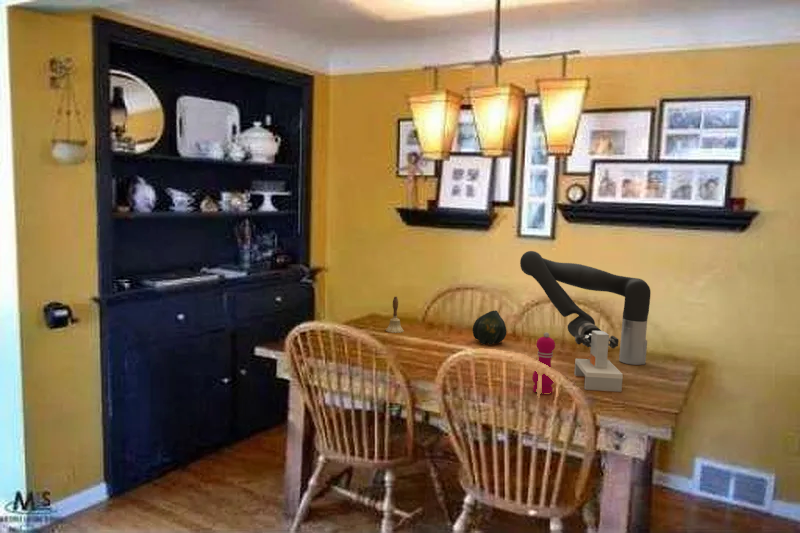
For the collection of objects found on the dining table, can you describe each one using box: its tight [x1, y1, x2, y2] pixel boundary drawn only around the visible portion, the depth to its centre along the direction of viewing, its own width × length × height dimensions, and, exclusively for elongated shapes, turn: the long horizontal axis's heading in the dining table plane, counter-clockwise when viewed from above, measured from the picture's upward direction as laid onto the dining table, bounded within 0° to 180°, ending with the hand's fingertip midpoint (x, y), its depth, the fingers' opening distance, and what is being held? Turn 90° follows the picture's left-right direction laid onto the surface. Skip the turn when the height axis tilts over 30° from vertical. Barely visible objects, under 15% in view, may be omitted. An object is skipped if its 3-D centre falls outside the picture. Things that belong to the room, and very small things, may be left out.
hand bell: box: [385, 296, 404, 334], centre depth 294 cm, size 8×8×16 cm
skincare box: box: [589, 330, 610, 368], centre depth 224 cm, size 6×4×12 cm
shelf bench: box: [573, 358, 624, 393], centre depth 225 cm, size 12×18×6 cm, turn 176°
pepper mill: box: [532, 331, 556, 395], centre depth 211 cm, size 7×7×20 cm
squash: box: [471, 310, 507, 346], centre depth 278 cm, size 14×15×15 cm
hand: (601, 345), depth 222 cm, fingers open, 8 cm apart
